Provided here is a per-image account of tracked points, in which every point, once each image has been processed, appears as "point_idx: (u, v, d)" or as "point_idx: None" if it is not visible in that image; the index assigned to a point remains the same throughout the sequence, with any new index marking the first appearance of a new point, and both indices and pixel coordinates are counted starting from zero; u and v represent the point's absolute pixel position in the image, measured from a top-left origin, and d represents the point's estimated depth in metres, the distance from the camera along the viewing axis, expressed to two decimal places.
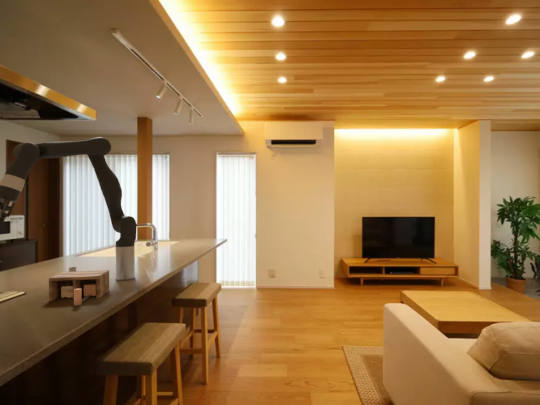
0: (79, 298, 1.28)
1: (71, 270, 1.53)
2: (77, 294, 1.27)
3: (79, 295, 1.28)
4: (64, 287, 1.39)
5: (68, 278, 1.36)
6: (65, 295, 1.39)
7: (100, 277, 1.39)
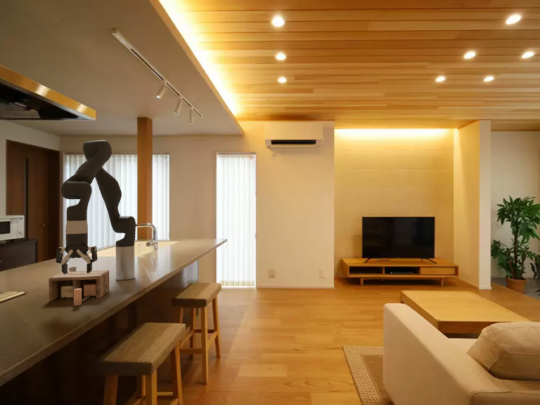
0: (79, 298, 1.28)
1: (71, 270, 1.53)
2: (77, 294, 1.27)
3: (79, 295, 1.28)
4: (64, 287, 1.39)
5: (68, 278, 1.36)
6: (65, 295, 1.39)
7: (100, 277, 1.39)
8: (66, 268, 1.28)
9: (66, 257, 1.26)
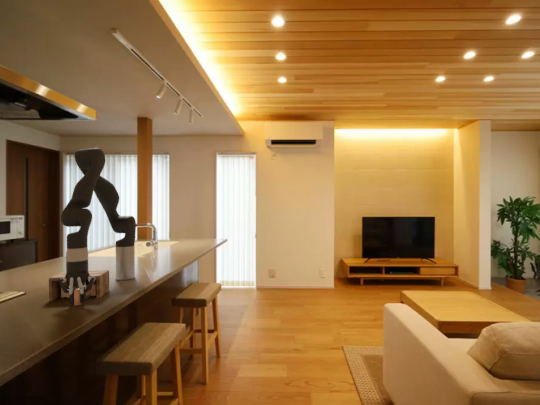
0: (79, 298, 1.28)
1: None
2: (77, 294, 1.27)
3: (79, 295, 1.28)
4: None
5: None
6: (65, 295, 1.39)
7: (100, 277, 1.39)
8: None
9: (70, 286, 1.27)
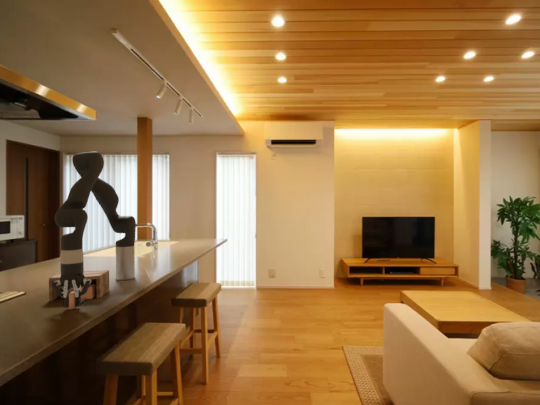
0: (74, 301, 1.23)
1: None
2: (72, 298, 1.23)
3: (74, 298, 1.23)
4: None
5: None
6: None
7: (100, 277, 1.39)
8: None
9: (65, 289, 1.22)
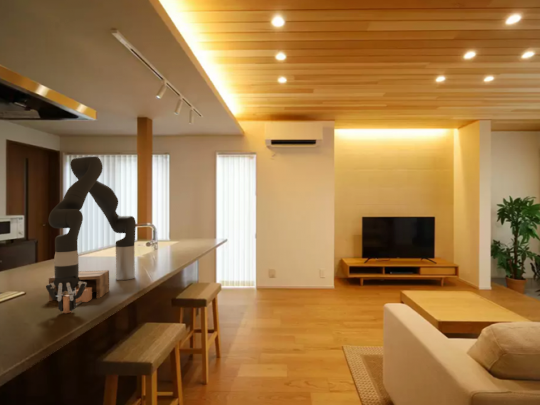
0: (68, 305, 1.19)
1: None
2: (67, 301, 1.19)
3: (68, 302, 1.19)
4: None
5: None
6: None
7: (100, 277, 1.39)
8: None
9: (59, 292, 1.18)
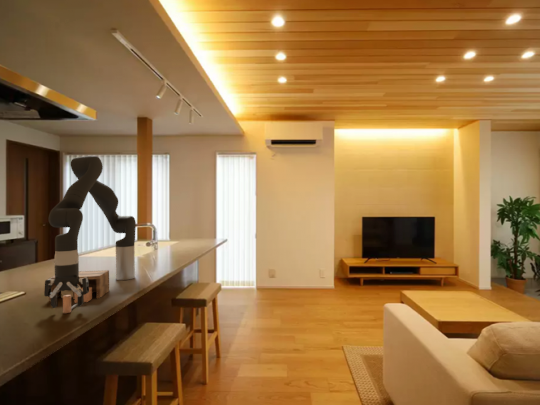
0: (68, 305, 1.19)
1: None
2: (67, 301, 1.19)
3: (68, 302, 1.19)
4: None
5: None
6: None
7: (100, 277, 1.39)
8: (55, 301, 1.19)
9: (55, 290, 1.18)
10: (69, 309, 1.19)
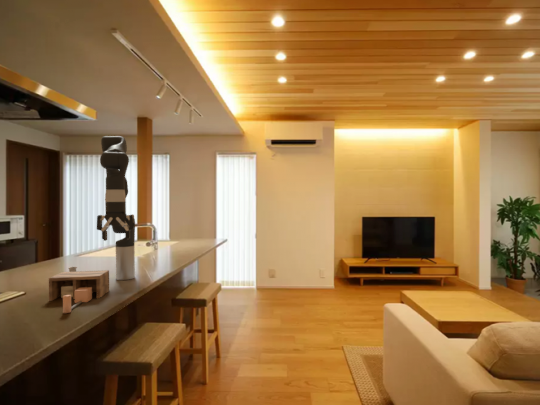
0: (68, 305, 1.19)
1: (71, 270, 1.53)
2: (67, 301, 1.19)
3: (68, 302, 1.19)
4: (64, 287, 1.39)
5: (68, 278, 1.36)
6: None
7: (100, 277, 1.39)
8: (106, 235, 1.34)
9: (106, 224, 1.32)
10: (69, 309, 1.19)
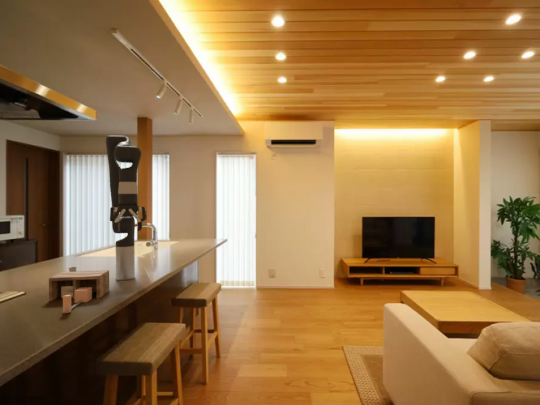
0: (68, 305, 1.19)
1: (71, 270, 1.53)
2: (67, 301, 1.19)
3: (68, 302, 1.19)
4: (64, 287, 1.39)
5: (68, 278, 1.36)
6: None
7: (100, 277, 1.39)
8: (119, 226, 1.38)
9: (119, 216, 1.36)
10: (69, 309, 1.19)
